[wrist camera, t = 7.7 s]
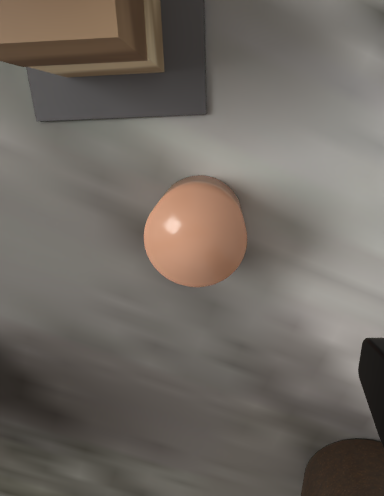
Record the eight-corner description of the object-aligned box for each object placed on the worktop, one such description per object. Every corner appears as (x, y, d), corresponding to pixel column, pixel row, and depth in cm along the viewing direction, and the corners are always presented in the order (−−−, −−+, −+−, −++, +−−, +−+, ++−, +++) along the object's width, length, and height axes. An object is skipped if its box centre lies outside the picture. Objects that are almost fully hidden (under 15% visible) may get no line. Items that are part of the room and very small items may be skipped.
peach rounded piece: (241, 255, 20) (246, 287, 16) (161, 256, 20) (148, 286, 17) (242, 174, 18) (248, 187, 15) (155, 176, 19) (139, 190, 15)
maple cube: (164, 72, 17) (148, 58, 13) (66, 77, 17) (23, 65, 13) (156, -56, 15) (135, -114, 11) (47, -46, 15) (-8, -99, 12)
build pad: (206, 114, 17) (206, 114, 17) (38, 121, 18) (36, 121, 18) (201, -117, 14) (201, -120, 14) (-3, -97, 15) (-5, -99, 15)
